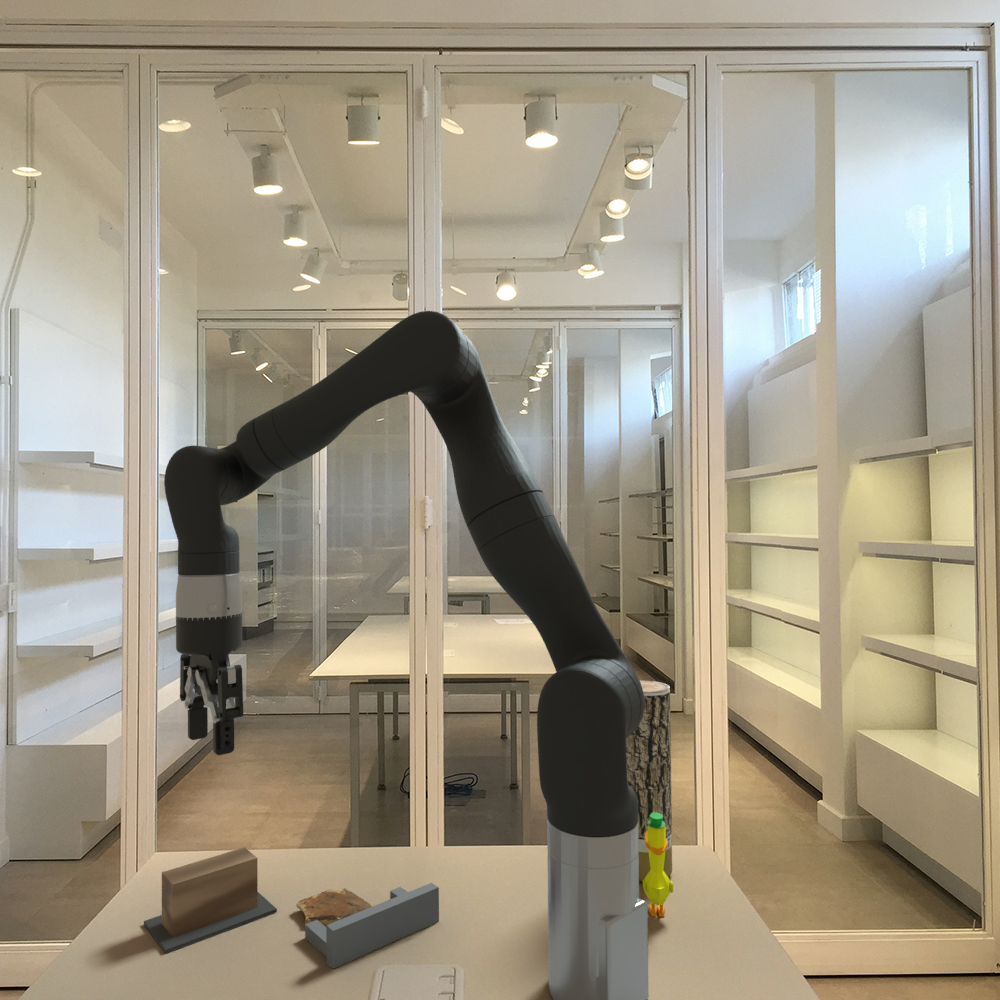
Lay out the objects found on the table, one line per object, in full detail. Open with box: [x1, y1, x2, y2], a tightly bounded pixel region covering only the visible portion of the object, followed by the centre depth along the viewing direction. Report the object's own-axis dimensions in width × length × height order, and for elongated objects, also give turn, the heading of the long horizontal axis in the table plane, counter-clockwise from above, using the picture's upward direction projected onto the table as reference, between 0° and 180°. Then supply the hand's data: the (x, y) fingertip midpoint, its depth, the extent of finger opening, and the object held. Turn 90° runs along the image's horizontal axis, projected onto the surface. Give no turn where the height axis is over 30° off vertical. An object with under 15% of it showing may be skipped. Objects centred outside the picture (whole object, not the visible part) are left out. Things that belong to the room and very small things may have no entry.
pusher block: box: [161, 847, 259, 938], centre depth 90 cm, size 4×10×6 cm, turn 131°
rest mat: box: [143, 891, 278, 954], centre depth 90 cm, size 8×13×1 cm, turn 131°
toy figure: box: [642, 812, 674, 918], centre depth 91 cm, size 7×4×12 cm, turn 175°
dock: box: [304, 882, 440, 969], centre depth 88 cm, size 8×14×4 cm, turn 131°
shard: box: [296, 888, 373, 927], centre depth 90 cm, size 11×8×2 cm
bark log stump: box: [626, 680, 673, 883], centre depth 101 cm, size 7×7×25 cm
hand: (210, 745), depth 91 cm, fingers open, 8 cm apart
